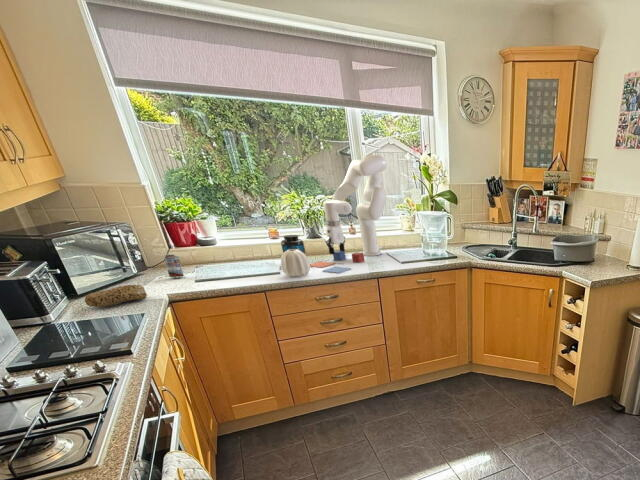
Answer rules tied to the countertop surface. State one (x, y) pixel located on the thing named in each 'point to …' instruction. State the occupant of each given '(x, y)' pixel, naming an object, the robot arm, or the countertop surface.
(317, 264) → the red mat
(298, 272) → the vase
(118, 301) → the sponge
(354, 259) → the red block
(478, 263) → the countertop surface
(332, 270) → the blue mat
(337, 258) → the blue block
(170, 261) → the beverage can
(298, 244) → the container
